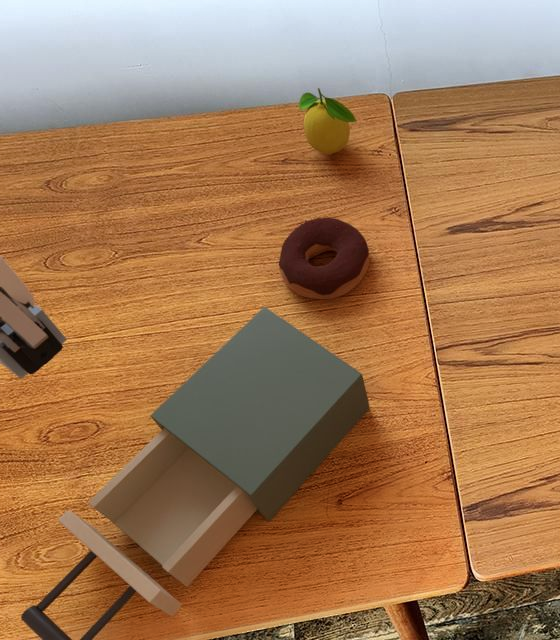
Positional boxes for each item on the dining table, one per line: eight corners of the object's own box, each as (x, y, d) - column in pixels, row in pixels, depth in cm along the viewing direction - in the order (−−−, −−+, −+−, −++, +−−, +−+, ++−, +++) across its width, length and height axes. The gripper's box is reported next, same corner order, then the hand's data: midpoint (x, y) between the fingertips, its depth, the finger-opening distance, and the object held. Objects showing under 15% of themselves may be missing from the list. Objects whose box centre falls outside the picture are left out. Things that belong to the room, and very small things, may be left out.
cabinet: (269, 522, 71) (250, 495, 65) (176, 447, 75) (149, 415, 68) (370, 408, 78) (362, 373, 71) (279, 344, 81) (264, 306, 75)
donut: (299, 317, 83) (293, 297, 80) (269, 252, 88) (262, 231, 84) (384, 283, 86) (381, 262, 82) (351, 222, 90) (347, 200, 87)
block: (21, 379, 60) (-8, 350, 56) (-15, 350, 61) (-46, 321, 58) (67, 339, 62) (42, 309, 58) (31, 312, 63) (4, 281, 60)
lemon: (362, 162, 95) (353, 100, 87) (317, 174, 94) (303, 113, 86) (346, 126, 99) (336, 63, 90) (302, 138, 97) (288, 75, 89)
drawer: (105, 691, 63) (76, 683, 58) (18, 606, 66) (-18, 591, 61) (281, 494, 72) (268, 473, 67) (196, 428, 75) (178, 403, 70)
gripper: (-259, 166, 47) (-82, 323, 62) (-91, 299, 42) (55, 434, 57) (-144, 98, 50) (-4, 263, 66) (23, 215, 45) (132, 363, 61)
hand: (23, 342), depth 61 cm, fingers closed on block, 4 cm apart
